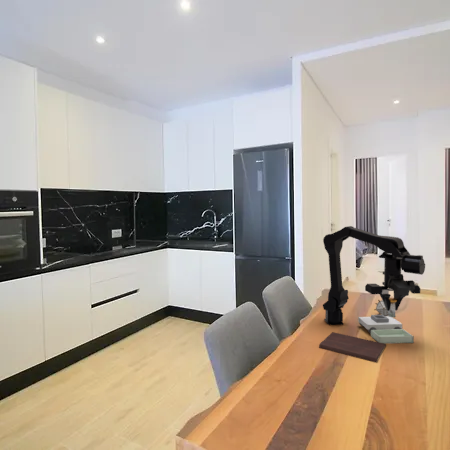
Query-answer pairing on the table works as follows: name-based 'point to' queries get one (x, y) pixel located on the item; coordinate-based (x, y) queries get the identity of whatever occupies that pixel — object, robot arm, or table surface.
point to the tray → (392, 336)
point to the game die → (381, 308)
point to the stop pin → (392, 307)
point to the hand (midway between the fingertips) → (391, 310)
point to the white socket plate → (379, 322)
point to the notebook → (353, 346)
